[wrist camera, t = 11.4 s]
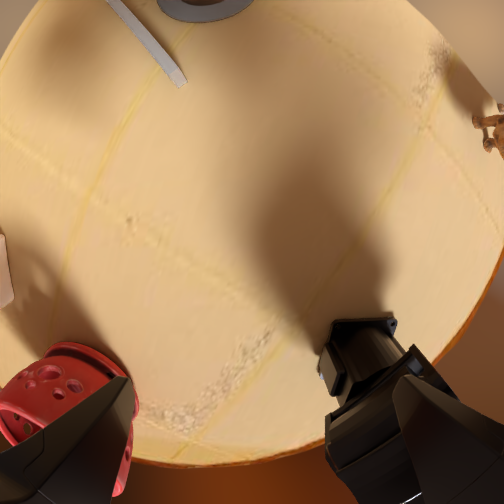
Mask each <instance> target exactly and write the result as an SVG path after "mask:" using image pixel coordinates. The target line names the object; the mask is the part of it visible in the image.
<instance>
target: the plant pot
mask: <svg viewBox="0 0 504 504" xmlns="http://www.w3.org/2000/svg"><path fill="white" fill-rule="evenodd" d="M116 376H125V377H127V376H126V375H125V374H124V372H123V371H122V370H121V369H120V368H119V367H118V366H117V365H116V364H115V363H113V362H112V361H111V360H110V359H108V358H107V357H106V356H104V355H103V354H101V353H100V352H98V351H96V350H94V349H92V348H90V347H88V346H85V345H82V344H79V343H74V342H59V343H56V344H54V345H52V346H51V347H50V348H49V349H48V350H47V351H46V353H45V355H44V357H43V359H41V360H39V361H36V362H34V363H32V364H31V365H29V366H28V367H27V368H25V369H23V370H22V371H20V372H19V373H18V374H17V375H15V376H14V377H13V378H12V379H11V380H10V381H9V382H8V383H7V385H6V386H5V387H4V388H3V389H2V390H1V392H0V431H1V432H2V433H3V435H4V436H5V437H6V439H7V440H8V441H9V442H10V443H11V444H12V445H13V446H15V445H17V444H19V443H21V442H23V441H24V440H26V439H27V438H29V437H31V436H32V435H34V434H35V433H37V432H38V431H40V430H41V429H42V428H43V429H44V427H46V426H47V425H48V424H50V423H51V422H53V421H54V420H56V419H57V418H59V417H60V416H61V415H63V414H64V413H66V412H67V411H69V410H70V409H71V408H73V407H74V406H76V405H77V404H78V403H80V402H81V401H83V400H84V399H85V398H87V397H88V396H90V395H91V394H92V393H94V392H95V391H97V390H98V389H99V388H101V387H102V386H104V385H105V384H106V383H108V382H109V381H111V380H112V379H113V378H115V377H116ZM132 386H133V385H132ZM133 389H134V387H133ZM134 392H135V404H134V410H133V415H132V420H131V426H130V432H129V437H128V441H127V445H126V448H125V451H124V455H123V458H122V462H121V465H120V469H119V472H118V476H117V479H116V483H115V487H114V491H113V494H112V497H113V496H117V495H119V494H121V493H122V491H123V490H124V487H125V483H126V480H127V476H128V472H129V467H130V461H131V455H132V448H133V424H132V421H133V420H134V419H135V418H136V416H137V415H138V411H139V400H138V396H137V393H136V391H135V389H134ZM14 413H17V417H16V418H14ZM25 423H28V424H29V425H30V427H31V432H30V434H26V433H25V432H24V428H23V426H24V424H25Z"/></svg>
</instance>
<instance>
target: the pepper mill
mask: <svg viewBox="0 0 504 504" xmlns="http://www.w3.org/2000/svg"><path fill="white" fill-rule="evenodd" d="M181 1H183V2H184V3H187V4H190V5H194V6H208V5H213V4H217V3H220V2H222V1H224V0H181Z"/></svg>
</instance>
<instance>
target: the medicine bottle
mask: <svg viewBox="0 0 504 504" xmlns="http://www.w3.org/2000/svg"><path fill="white" fill-rule="evenodd" d="M13 300H14V293H13V288H12V283H11V278H10V272H9V266H8V259H7V252H6V243H5V236H4V235H3V234H0V310H1V309H2V308H4V307H5V306H6V305H8V304H9V303H10V302H11V301H13Z"/></svg>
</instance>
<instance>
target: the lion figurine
mask: <svg viewBox="0 0 504 504" xmlns="http://www.w3.org/2000/svg"><path fill="white" fill-rule="evenodd" d="M498 108H499V111H500V113H502V114H503V115H493V116H489V117H486V118H478V117H473V125H474V127H475V128H476V129H484V128H486V127H489V126H494V127H496V128H495V129H494V132H493V137H494V138H488V139H487V140H486V141H485V142H484V149H485V150H486V151H487V152H489V153H490V152H491V150H492V148H493V147H496V148H497V149H498V150H499V152H500V155H501V156H502V158H503V159H504V105H503V104H499V105H498Z"/></svg>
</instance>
